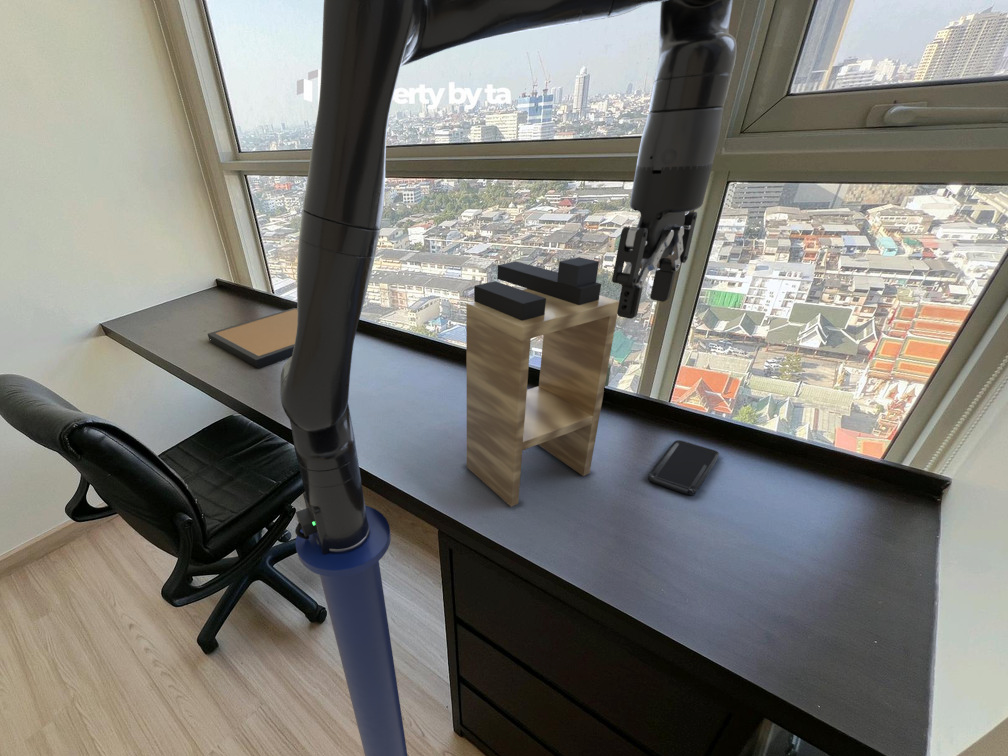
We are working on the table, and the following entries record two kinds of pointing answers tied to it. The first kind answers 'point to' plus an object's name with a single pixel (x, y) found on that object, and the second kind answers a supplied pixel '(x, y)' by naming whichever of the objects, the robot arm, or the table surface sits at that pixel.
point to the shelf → (543, 409)
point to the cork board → (260, 338)
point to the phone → (684, 467)
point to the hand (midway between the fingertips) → (643, 308)
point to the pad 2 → (556, 279)
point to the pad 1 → (510, 300)
